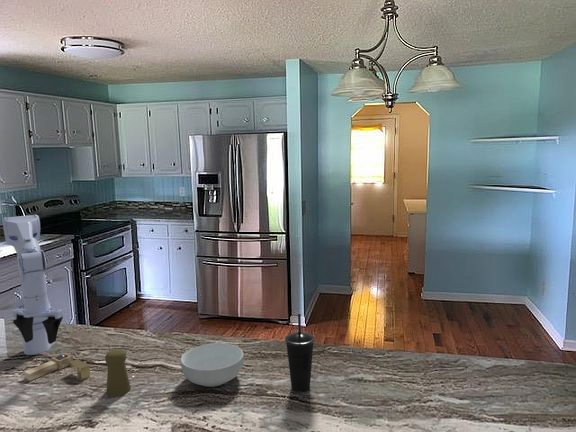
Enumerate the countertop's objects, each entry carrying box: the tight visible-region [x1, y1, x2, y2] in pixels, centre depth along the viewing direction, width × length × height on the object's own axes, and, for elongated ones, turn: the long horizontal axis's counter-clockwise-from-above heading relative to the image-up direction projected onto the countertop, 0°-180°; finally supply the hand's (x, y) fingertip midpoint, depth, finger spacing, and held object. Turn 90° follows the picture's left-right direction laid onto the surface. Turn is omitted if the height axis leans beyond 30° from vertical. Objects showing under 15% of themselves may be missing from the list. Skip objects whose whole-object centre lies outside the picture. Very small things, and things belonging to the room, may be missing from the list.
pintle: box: [57, 353, 65, 360], centre depth 129 cm, size 2×2×4 cm
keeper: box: [69, 359, 91, 381], centre depth 123 cm, size 7×2×4 cm, turn 52°
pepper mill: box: [104, 348, 132, 398], centre depth 115 cm, size 6×6×11 cm
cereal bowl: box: [180, 342, 245, 388], centre depth 120 cm, size 17×17×7 cm
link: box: [23, 352, 74, 382], centre depth 126 cm, size 12×4×2 cm, turn 147°
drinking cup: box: [284, 313, 316, 393], centre depth 114 cm, size 8×8×20 cm
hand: (40, 341), depth 124 cm, fingers open, 7 cm apart
